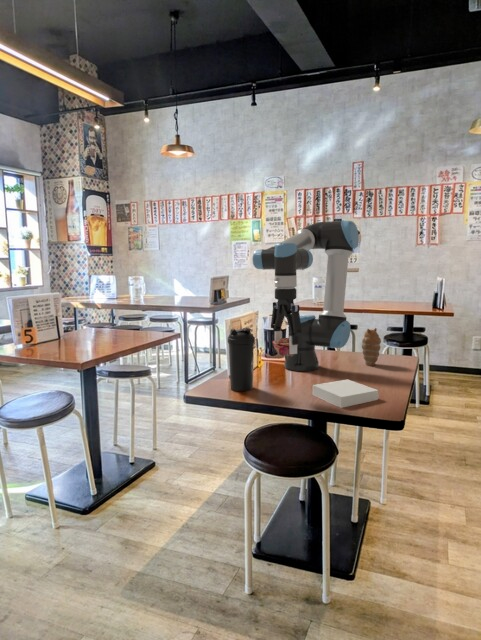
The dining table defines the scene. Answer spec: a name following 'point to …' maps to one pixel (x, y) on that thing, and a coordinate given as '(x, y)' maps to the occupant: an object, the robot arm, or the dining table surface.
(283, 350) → the flower
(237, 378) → the water bottle
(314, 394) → the block
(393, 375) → the dining table surface
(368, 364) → the cat ice cream
